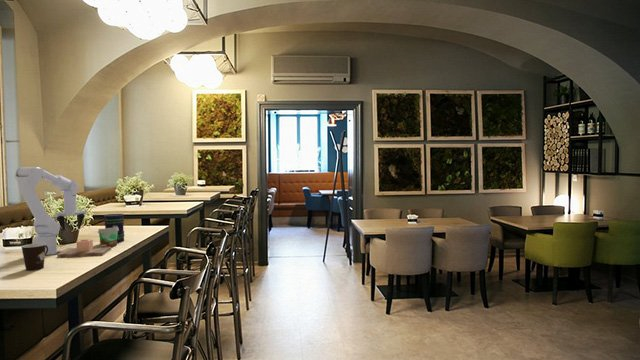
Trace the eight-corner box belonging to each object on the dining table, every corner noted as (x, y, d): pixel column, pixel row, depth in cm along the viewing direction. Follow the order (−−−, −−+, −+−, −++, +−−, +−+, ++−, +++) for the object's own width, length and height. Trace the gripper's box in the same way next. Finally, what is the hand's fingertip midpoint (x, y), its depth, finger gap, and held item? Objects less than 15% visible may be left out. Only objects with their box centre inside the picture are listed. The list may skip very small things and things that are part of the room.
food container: (109, 248, 229) (108, 229, 228) (98, 248, 230) (97, 229, 230) (124, 244, 241) (123, 225, 240) (114, 243, 242) (113, 225, 242)
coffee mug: (29, 272, 183) (27, 248, 182) (18, 269, 187) (17, 246, 187) (58, 266, 193) (57, 243, 192) (47, 263, 197) (46, 241, 197)
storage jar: (128, 240, 253) (127, 213, 252) (116, 243, 243) (115, 216, 242) (113, 239, 255) (112, 213, 254) (101, 242, 245) (99, 215, 245)
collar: (76, 251, 215) (76, 241, 215) (80, 249, 220) (80, 239, 220) (89, 251, 216) (89, 241, 216) (92, 248, 221) (92, 238, 221)
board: (57, 257, 210) (57, 254, 210) (68, 251, 224) (68, 248, 223) (102, 255, 213) (102, 252, 213) (111, 249, 227) (110, 246, 227)
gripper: (57, 205, 225) (58, 232, 225) (87, 202, 235) (89, 228, 236) (52, 204, 230) (54, 230, 230) (82, 202, 240) (84, 227, 241)
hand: (71, 229), depth 233 cm, fingers open, 7 cm apart
